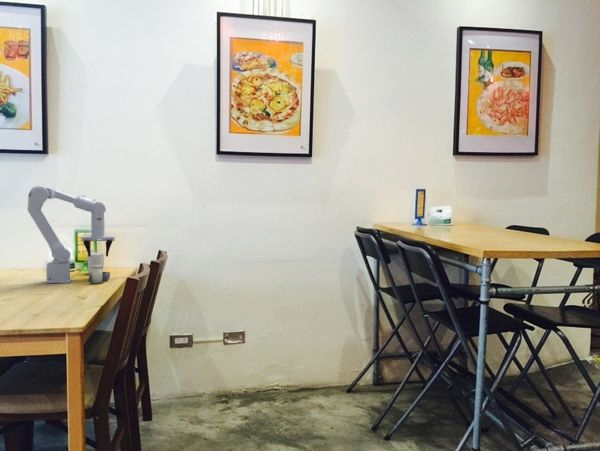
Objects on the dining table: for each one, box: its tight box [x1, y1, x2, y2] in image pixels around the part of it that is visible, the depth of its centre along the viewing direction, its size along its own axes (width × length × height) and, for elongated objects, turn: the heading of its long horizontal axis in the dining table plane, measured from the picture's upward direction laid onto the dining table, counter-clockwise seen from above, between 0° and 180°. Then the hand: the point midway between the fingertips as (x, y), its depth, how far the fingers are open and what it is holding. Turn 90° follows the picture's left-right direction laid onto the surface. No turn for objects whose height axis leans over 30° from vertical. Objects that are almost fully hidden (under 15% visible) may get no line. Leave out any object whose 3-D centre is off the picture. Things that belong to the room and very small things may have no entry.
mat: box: [89, 281, 105, 285], centre depth 228 cm, size 6×6×1 cm
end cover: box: [91, 265, 103, 283], centre depth 228 cm, size 5×5×7 cm
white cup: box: [86, 252, 105, 275], centre depth 251 cm, size 8×8×10 cm
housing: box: [88, 271, 111, 283], centre depth 236 cm, size 8×8×3 cm
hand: (98, 256), depth 238 cm, fingers open, 7 cm apart
